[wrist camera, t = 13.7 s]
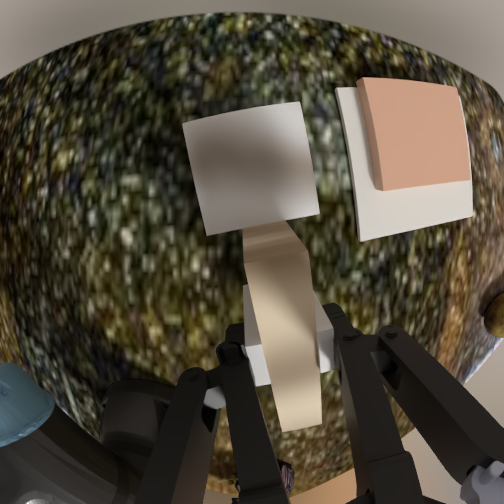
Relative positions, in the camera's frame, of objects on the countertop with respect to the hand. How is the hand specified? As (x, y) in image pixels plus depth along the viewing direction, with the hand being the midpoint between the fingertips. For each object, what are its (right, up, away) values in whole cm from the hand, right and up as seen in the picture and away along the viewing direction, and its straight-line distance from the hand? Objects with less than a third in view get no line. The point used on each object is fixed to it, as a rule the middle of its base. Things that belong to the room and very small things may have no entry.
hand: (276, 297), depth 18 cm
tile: (+15, +10, +3) cm, 18 cm away
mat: (+15, +12, +4) cm, 20 cm away
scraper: (-1, +3, 0) cm, 3 cm away
